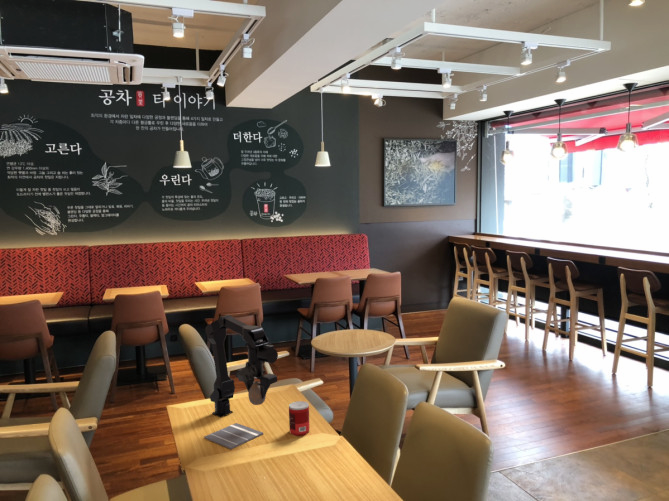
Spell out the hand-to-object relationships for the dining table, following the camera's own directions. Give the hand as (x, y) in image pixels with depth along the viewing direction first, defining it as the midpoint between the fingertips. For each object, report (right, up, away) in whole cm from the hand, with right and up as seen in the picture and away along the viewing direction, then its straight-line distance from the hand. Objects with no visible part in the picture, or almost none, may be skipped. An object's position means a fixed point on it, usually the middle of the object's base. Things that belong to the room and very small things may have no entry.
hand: (256, 396), depth 211 cm
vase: (0, -3, 0) cm, 3 cm away
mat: (-8, -13, -7) cm, 17 cm away
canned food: (+18, -13, -5) cm, 22 cm away
